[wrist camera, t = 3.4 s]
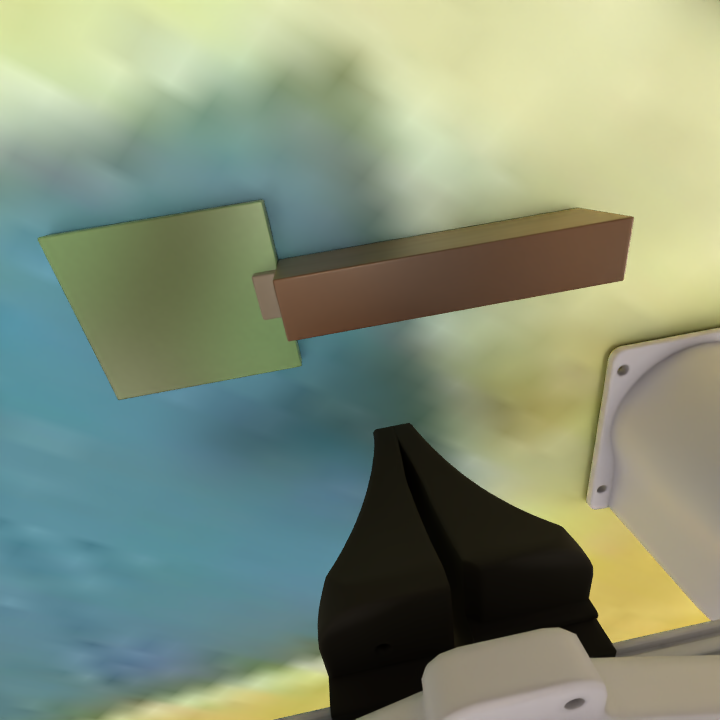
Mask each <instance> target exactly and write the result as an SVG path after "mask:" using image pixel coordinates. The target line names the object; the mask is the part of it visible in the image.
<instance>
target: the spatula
mask: <svg viewBox="0 0 720 720" xmlns="http://www.w3.org/2000/svg"><path fill="white" fill-rule="evenodd" d="M633 221H634V217H632V216H626V215H620V214H614V213H607V212H601V211H595V210H588V209H582V208H574V209H568V210H562V211H557V212H551V213H545V214H539V215H534V216H528V217H522V218H516V219H511V220H505V221H499V222H493V223H488V224H482V225H476V226H470V227H465V228H459V229H453V230H447V231H441V232H436V233H430V234H424V235H418V236H413V237H407V238H401V239H395V240H390V241H384V242H378V243H372V244H367V245H361V246H355V247H349V248H344V249H338V250H332V251H326V252H321V253H315V254H309V255H303V256H298V257H292V258H286V259H280V260H279V261H278V258H277V253H276V249H275V245H274V241H273V237H272V233H271V228H270V224H269V220H268V216H267V212H266V208H265V203H264V200H262V199H261V200H255V201H249V202H243V203H237V204H231V205H225V206H219V207H213V208H207V209H201V210H195V211H189V212H183V213H177V214H171V215H165V216H159V217H153V218H147V219H141V220H135V221H129V222H123V223H117V224H111V225H105V226H99V227H93V228H87V229H81V230H75V231H69V232H63V233H57V234H51V235H46V236H43V237H39V238H38V241H39V243H40V245H41V247H42V249H43V251H44V253H45V255H46V257H47V259H48V261H49V263H50V265H51V267H52V269H53V271H54V273H55V275H56V277H57V279H58V281H59V283H60V285H61V287H62V289H63V291H64V293H65V295H66V297H67V299H68V301H69V303H70V305H71V307H72V309H73V311H74V313H75V315H76V317H77V319H78V321H79V323H80V325H81V327H82V329H83V331H84V333H85V335H86V337H87V339H88V341H89V343H90V345H91V347H92V349H93V351H94V353H95V355H96V357H97V359H98V361H99V363H100V365H101V367H102V369H103V371H104V372H105V374H106V376H107V378H108V380H109V382H110V384H111V386H112V388H113V390H114V392H115V394H116V396H117V398H118V400H121V399H127V398H132V397H138V396H143V395H148V394H154V393H159V392H165V391H170V390H175V389H181V388H186V387H191V386H197V385H202V384H208V383H213V382H218V381H224V380H229V379H235V378H240V377H245V376H251V375H256V374H262V373H267V372H272V371H278V370H283V369H289V368H294V367H299V366H301V365H302V358H301V354H300V350H299V345H298V341H297V340H300V339H306V338H311V337H316V336H322V335H327V334H333V333H338V332H344V331H349V330H355V329H360V328H366V327H371V326H377V325H382V324H388V323H393V322H399V321H404V320H410V319H415V318H421V317H426V316H431V315H437V314H442V313H448V312H453V311H459V310H464V309H470V308H475V307H481V306H486V305H492V304H497V303H503V302H508V301H514V300H519V299H525V298H530V297H535V296H541V295H546V294H552V293H557V292H563V291H568V290H574V289H579V288H585V287H590V286H596V285H601V284H607V283H612V282H618V281H623V280H624V277H625V271H626V265H627V258H628V252H629V246H630V240H631V234H632V227H633Z"/></svg>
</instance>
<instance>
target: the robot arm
mask: <svg viewBox="0 0 720 720" xmlns="http://www.w3.org/2000/svg"><path fill="white" fill-rule="evenodd" d="M621 366H622V368H621V369H620V370H618V369H619V368H620V367H621ZM373 435H374V458H373V465H372V471H371V476H370V480H369V484H368V488H367V492H366V495H365V499H364V502H363V505H362V508H361V511H360V513H359V516H358V518H357V521H356V523H355V525H354V528H353V530H352V532H351V534H350V536H349V538H348V540H347V542H346V544H345V546H344V548H343V550H342V552H341V554H340V555H339V557H338V559H337V560H336V562H335V563H334V565H333V567H332V568H331V570H330V571H329V573H328V575H327V576H326V579H325V583H324V587H323V591H322V596H321V600H320V606H319V614H318V642H319V650H320V653H321V656H322V659H323V661H324V664H325V667H326V670H327V673H328V676H329V690H330V707H328V708H324V709H319V710H315V711H310V712H306V713H302V714H297V715H293V716H288V717H284V718H279V719H275V720H720V328H715V329H709V330H704V331H699V332H694V333H688V334H683V335H678V336H672V337H667V338H662V339H657V340H651V341H646V342H641V343H636V344H630V345H625V346H620V347H618V348H616V349H614V350H613V351H612V352H611V354H610V355H609V358H608V364H607V370H606V377H605V383H604V389H603V396H602V402H601V408H600V415H599V421H598V427H597V434H596V440H595V446H594V453H593V459H592V466H591V472H590V478H589V485H588V491H587V497H586V503H587V504H588V505H589V506H590V507H591V508H592V509H602V508H607V507H609V508H610V509H611V510H612V511H613V512H614V513H615V515H616V516H617V517H618V518H619V519H620V520H621V521H622V523H623V524H624V525H625V526H626V527H627V528H628V529H629V530H630V532H631V533H632V534H633V535H634V536H635V537H636V538H637V540H638V541H639V542H640V543H641V544H642V545H643V546H644V547H645V549H646V550H647V551H648V552H649V553H650V554H651V555H652V557H653V558H654V559H655V560H656V561H657V562H658V563H659V564H660V566H661V567H662V568H663V569H664V570H665V571H666V572H667V574H668V575H669V576H670V577H671V578H672V579H673V580H674V581H675V583H676V584H677V585H678V586H679V587H680V588H681V589H682V591H683V592H684V593H685V594H686V595H687V596H688V597H689V598H690V600H691V601H692V602H693V603H694V604H695V605H696V606H697V607H698V608H699V609H700V610H701V611H702V612H703V613H704V614H705V615H706V616H707V617H708V618H709V619H710V620H711V621H709V622H705V623H700V624H696V625H691V626H687V627H682V628H678V629H674V630H669V631H665V632H660V633H656V634H651V635H647V636H643V637H638V638H634V639H629V640H625V641H620V642H616V643H611V641H610V640H609V638H608V636H607V635H606V633H605V632H604V630H603V629H602V627H601V625H600V624H599V622H598V621H597V619H596V618H598V613H597V611H596V609H595V607H594V606H593V604H592V603H591V601H590V600H589V594H590V588H591V583H592V578H593V566H592V564H591V562H590V560H589V558H588V557H587V555H586V554H585V553H584V551H583V550H582V548H581V547H580V546H579V545H578V544H577V542H576V541H575V540H574V539H573V538H572V537H571V536H570V535H569V534H568V532H567V531H566V530H565V529H564V528H563V527H562V526H559V525H557V524H554V523H552V522H549V521H546V520H544V519H541V518H539V517H536V516H534V515H531V514H529V513H527V512H525V511H523V510H521V509H519V508H516V507H514V506H512V505H510V504H509V503H507V502H505V501H503V500H501V499H500V498H498V497H496V496H494V495H492V494H491V493H489V492H488V491H486V490H484V489H483V488H481V487H480V486H478V485H477V484H475V483H474V482H473V481H471V480H470V479H468V478H467V477H466V476H464V475H463V474H462V473H460V472H459V471H458V470H457V469H456V468H454V467H453V466H452V465H451V464H450V463H448V462H447V461H446V460H445V459H444V458H443V457H442V456H441V455H440V454H439V453H438V452H436V451H435V450H434V449H433V448H432V447H431V446H430V445H429V444H428V443H427V442H426V441H425V439H424V438H423V437H422V436H421V435H420V434H419V433H418V432H417V430H416V429H415V428H414V427H413V425H411V424H410V423H406V424H401V425H396V426H391V427H385V428H380V429H376V430H375V431H374V432H373Z"/></svg>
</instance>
